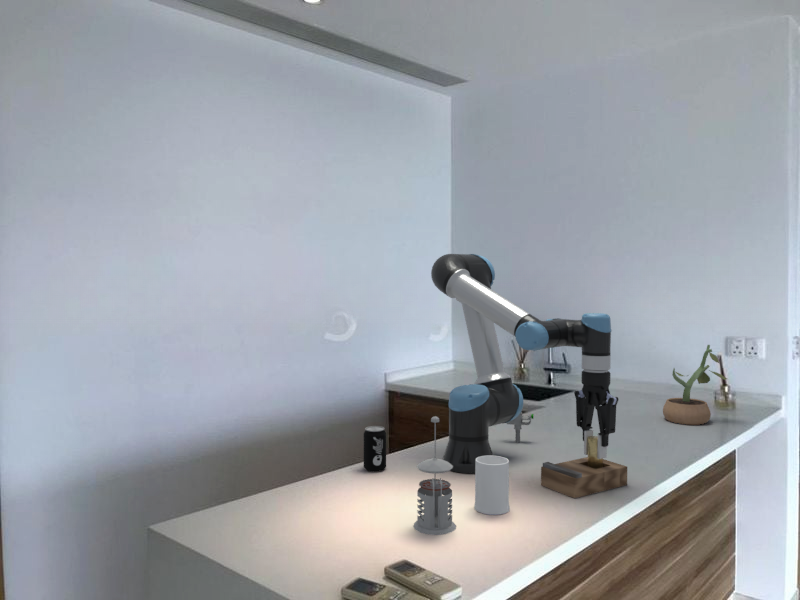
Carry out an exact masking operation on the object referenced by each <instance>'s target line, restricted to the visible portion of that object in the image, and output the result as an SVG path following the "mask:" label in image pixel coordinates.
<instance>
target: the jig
mask: <svg viewBox="0 0 800 600" xmlns="http://www.w3.org/2000/svg"><path fill="white" fill-rule="evenodd" d="M540 486H543V487H544V488H547V489H550V490H553V491H555V492H558V493H560V494H563V495H565V496H568V497H570V498H573V499H577V498H581V497H585V496H589V495H594V494H597V493H601V492H604V491H608V490H613V489H616V488H620V487H621V488H622V487H624V486H628V466H627V465H624V464H621V463H617V462H614V461H610V460H607V459H605V458H603V467H602V468H598V469H594V468H591V467H588V456H586V457H581V458H577V459H572V460H568V461H567V460H566V461H562V462H557V463H553V462H550V461H545V462H542V466H541V468H540Z"/></svg>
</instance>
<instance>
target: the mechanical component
mask: <svg viewBox="0 0 800 600" xmlns="http://www.w3.org/2000/svg"><path fill="white" fill-rule="evenodd" d="M532 420H534V413H531V412H529V413H528V415H527V417H526V416H524V415H523V412H522V411H521V412H520V414H519V416H518V417H517V418H515V419H514V420H511V421H509V422H507V423H506V424H507V425H514V427H513V429H514V430H515V438H514V439H515V443H517V444H519V443H520V441H521V430H522V429H523V428H522V426H529V425H531V424H532ZM524 421H525V422H524ZM526 421H527V422H526Z"/></svg>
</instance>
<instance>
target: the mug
mask: <svg viewBox="0 0 800 600" xmlns="http://www.w3.org/2000/svg"><path fill="white" fill-rule="evenodd" d="M474 475H475V477H474V478H475V479H474V483H475V484H474V485H475V486H474V492H475V493H474V496H475V497H474V506H473V508H474V510H475V511H476V512H478V513H479V514H484V515H489V516H490V515H491V516H501V515H504V514H508V512H510V509H511V508H510V502H509V501H510V500H509V498H510V497H509V496H510V488H509V487H510V460H509V459H508V458H507V457H504V456H499V455H494V454H493V455H487V456H480V457H477V458H476V460H475V473H474Z"/></svg>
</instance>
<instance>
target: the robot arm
mask: <svg viewBox="0 0 800 600" xmlns="http://www.w3.org/2000/svg"><path fill="white" fill-rule="evenodd" d="M430 274H431V276H430V277H431V280H432V283H433V284H434V286H435V287H436V288H437V289H438V290H439V291H440V292H441V293H443V294H444V295H446V296H447V297H449V298H450V299H455V300H456V301H457V302H459V303H460V304H461V306H462V311H463V315H464V320H465V326H466V330H467V334H468V339H469V343H470V348H471V353H472V358H473V362H474V366H475V367H474V368H475V371H476V375H477V378H476V380H475V382H474V383H472V384H470V383H469V384H461V385H459V386H457V387H454V388H452V389H451V391H450V392H449V397H448V442H447V445H446V448H445V452H444V455H443V457H442V460H444V461H447V462H449V463H450V464H451V465H452V466H453V468H452V469H451V470H450V471H451V472H453V473H454V472H455V473H459V474H460V473H461V474H475V460H476V458H477V457H480V456H487V455H493V456H494V454H493V451H492V448H491V445H490V444H491V443H490V441H489V429H490V428H489V427H493V426H497V425H500V424H507V422H509V421H511V420H514V419H515V418H517V417H518V416H519V414H520V412H522V410H523V407H524V396H523V393H522V390H521V389H520V387H518V386H517V385H516V384H514V383H513V381H512V376H511V375H509V374H508V373H506V371H505V367H504V362H503V358H502V355H501V354H502V353H501V349H500V344H499V341H498V337H497V336H498V335H497V331H496V326H498V327H500V328H501V329H502V330H505V331H506V332H507V333H509V334H510V335H512V336H513V337H515V341H516V343H517V344H518V346H519V348H521V349H523V350H525V351H533V352H534V351H535V352H536V351H540V350H544V349H551V348H559V347H573V348H581V369H582V371H581V384H582V388H581V389H580V390H574V393H573V394H574V397H575V414H576V417H575V418H576V419H575V420H576V426H577V427H578V428H580V429H582V441H583V446H584V447H583V455H585V456H588V437H589V436H594V430H593V428H594V427H592V423H593V417H594V411H595V410H596V412H597V421H598V427H599V432H598V433H597V436H598V447H597V458H598V459H602V458H603V459H606V458H607V456H608V455H607V447H608V446H609V440H610V439H609V437H610V436H609V435H610V434H615V433H616V425H617V423H616V422H617V421H616V420H617V405H618V403H619V397H618V396H613V395H612V394H611V391H610V389H609V388H610V385H611V372H610V370H611V343H612V340H611V339H612V337H611V336H612V325H611V316H610V315H609V314H607V313H599V312H598V313H594V312H593V313H591V312H589V313H588V312H587V313H586V312H585V313H583V314H582V315H581V319H567V318H565V319H564V318H547V319H546V320H541V319H539V318H537V317H536V316H534V315H532V314H531V313H529V312H528V311H526V310H524V309H523V308H521V307H520V306H518V305H517V304H515V303H513V302H512V301H510V300H509V299H507V298H506V297H504V296H503V295H501V294H499V293H497V292H496V291H494V289H492V285H494V280H495V279H496V278H495V277H496V273H495V268H494V266H493V264H492V262H491V261H490V260H489V259H488V258H487V257H486V256H483V255H480V254H475V253H469V254H467V253H465V254H463V253H447V254H443V255H441V256H439V257H438V258H437V259H436V260H435V261H434V263H433V265H432V266H431V273H430Z"/></svg>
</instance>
